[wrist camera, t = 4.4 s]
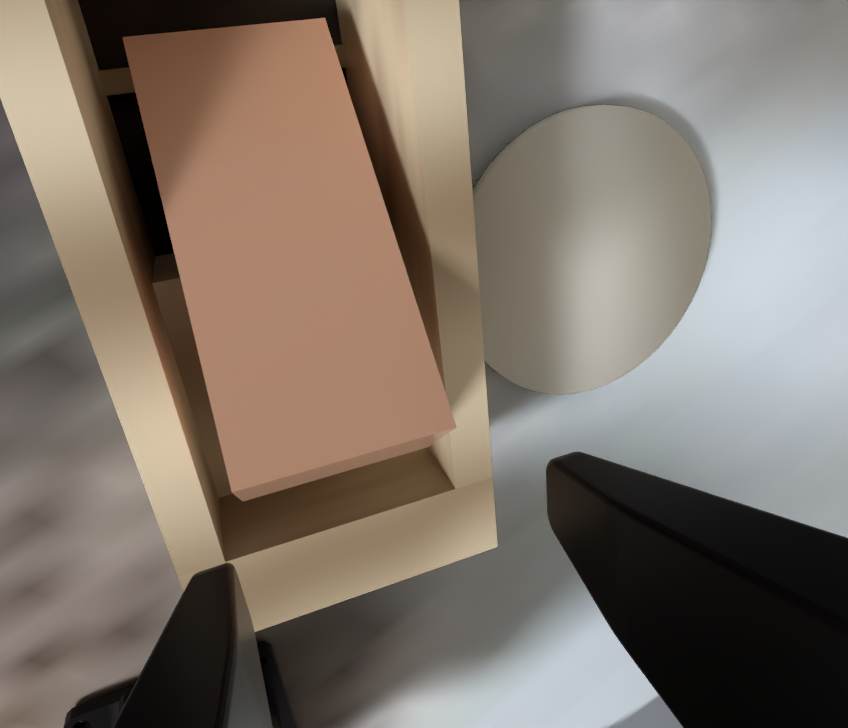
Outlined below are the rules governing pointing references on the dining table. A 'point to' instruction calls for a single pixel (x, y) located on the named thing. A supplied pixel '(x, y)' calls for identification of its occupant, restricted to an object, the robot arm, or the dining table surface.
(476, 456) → the beech pocket board
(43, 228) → the dining table surface
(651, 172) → the felt coaster
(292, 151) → the terracotta block
